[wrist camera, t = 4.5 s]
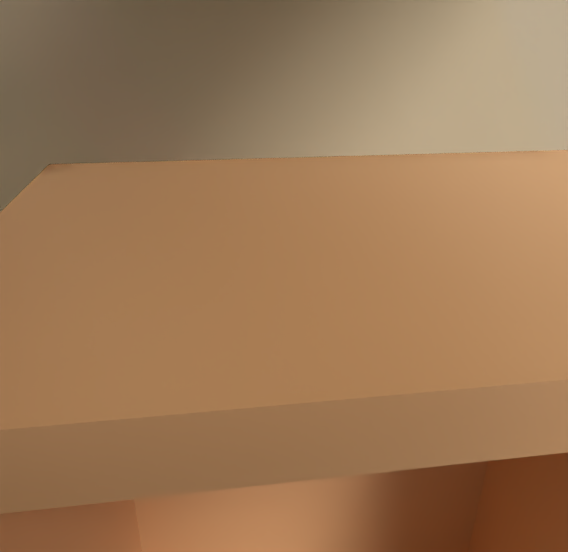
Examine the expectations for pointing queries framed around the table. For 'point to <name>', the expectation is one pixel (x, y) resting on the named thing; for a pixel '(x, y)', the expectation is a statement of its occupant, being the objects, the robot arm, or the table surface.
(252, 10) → the table surface
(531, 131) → the table surface
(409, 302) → the orange crate
